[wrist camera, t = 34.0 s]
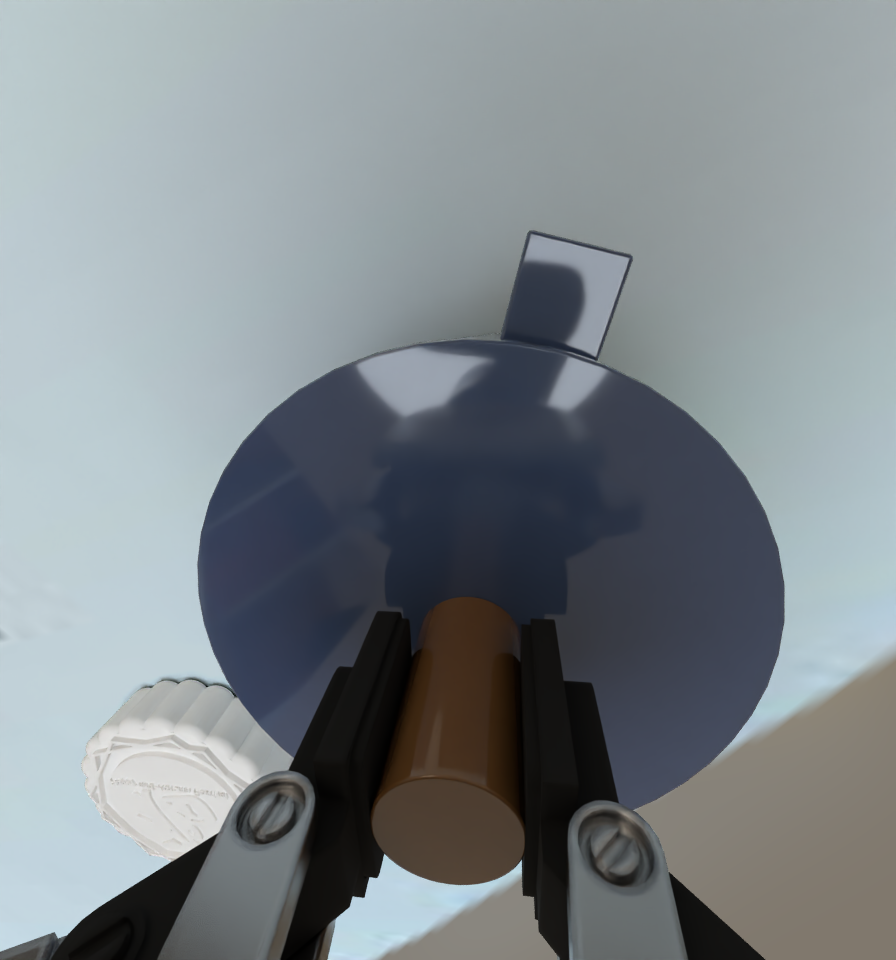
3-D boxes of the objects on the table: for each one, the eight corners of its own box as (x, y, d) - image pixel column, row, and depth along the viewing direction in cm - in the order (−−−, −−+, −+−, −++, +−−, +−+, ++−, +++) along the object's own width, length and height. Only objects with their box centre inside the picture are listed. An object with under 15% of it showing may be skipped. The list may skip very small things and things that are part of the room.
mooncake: (145, 806, 32) (102, 865, 29) (98, 667, 28) (43, 717, 25) (312, 829, 31) (289, 893, 27) (291, 686, 27) (260, 741, 23)
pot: (314, 620, 25) (224, 769, 17) (376, 223, 18) (270, 159, 10) (565, 690, 24) (593, 875, 16) (730, 311, 17) (916, 318, 9)
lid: (211, 726, 16) (54, 949, 11) (238, 265, 11) (-58, 222, 5) (632, 845, 16) (701, 1143, 10) (883, 428, 10) (1330, 576, 5)
